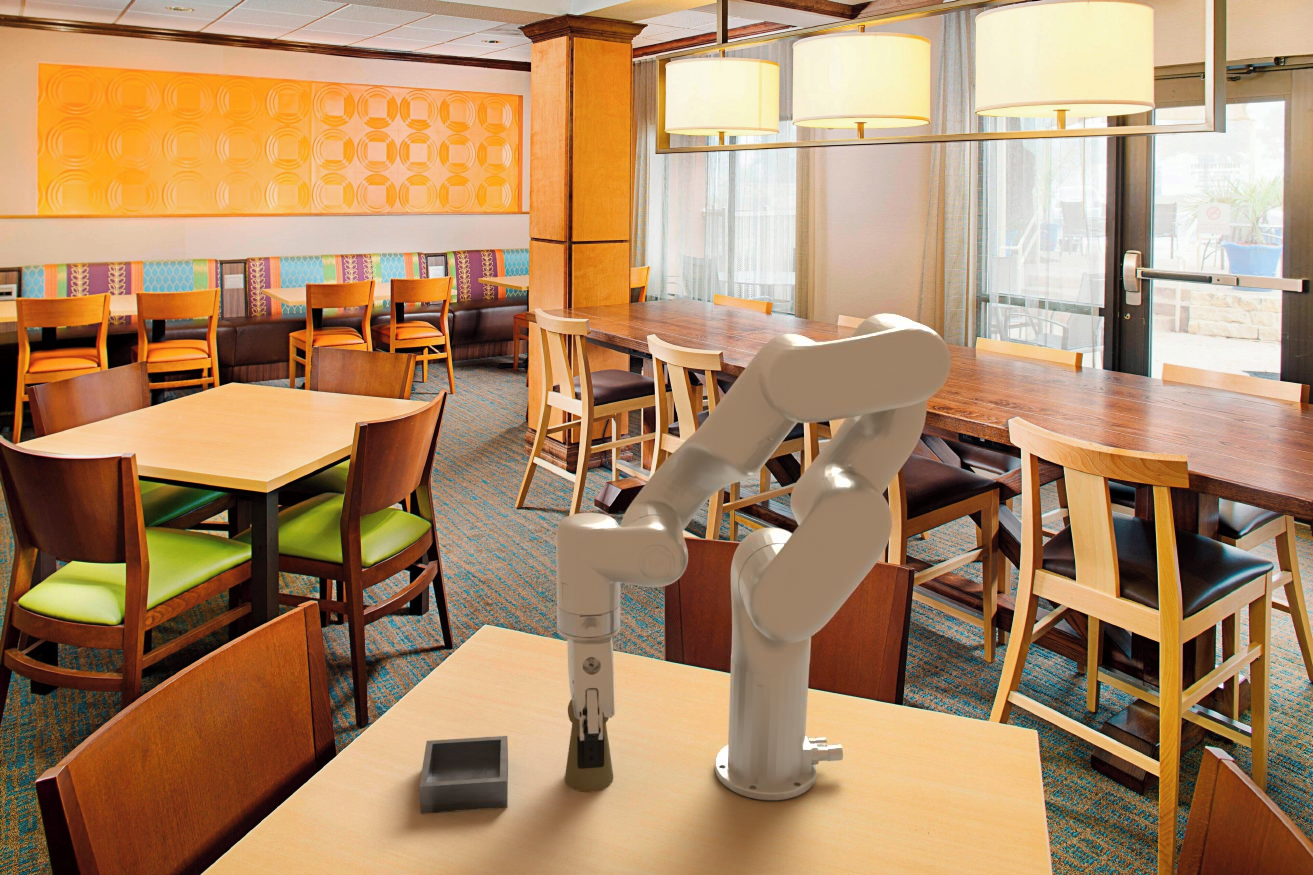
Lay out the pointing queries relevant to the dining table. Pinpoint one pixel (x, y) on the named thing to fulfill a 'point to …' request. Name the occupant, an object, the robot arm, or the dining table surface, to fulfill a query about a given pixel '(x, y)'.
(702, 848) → the dining table surface
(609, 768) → the cork
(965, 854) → the dining table surface
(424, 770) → the socket
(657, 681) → the dining table surface
